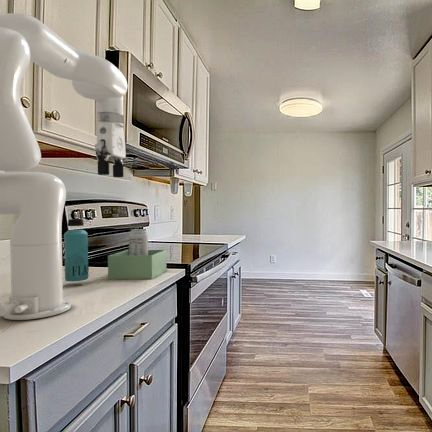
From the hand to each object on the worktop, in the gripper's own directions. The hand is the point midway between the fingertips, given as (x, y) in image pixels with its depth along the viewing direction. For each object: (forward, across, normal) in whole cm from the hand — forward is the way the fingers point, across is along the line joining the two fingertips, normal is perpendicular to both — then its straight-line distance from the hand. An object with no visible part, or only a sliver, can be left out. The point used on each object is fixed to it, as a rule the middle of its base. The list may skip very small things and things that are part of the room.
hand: (111, 176), depth 112 cm
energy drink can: (+33, +11, -4) cm, 35 cm away
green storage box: (+33, +11, -4) cm, 35 cm away
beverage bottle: (+34, -4, +9) cm, 35 cm away
